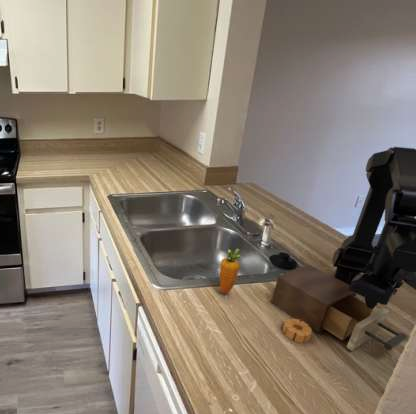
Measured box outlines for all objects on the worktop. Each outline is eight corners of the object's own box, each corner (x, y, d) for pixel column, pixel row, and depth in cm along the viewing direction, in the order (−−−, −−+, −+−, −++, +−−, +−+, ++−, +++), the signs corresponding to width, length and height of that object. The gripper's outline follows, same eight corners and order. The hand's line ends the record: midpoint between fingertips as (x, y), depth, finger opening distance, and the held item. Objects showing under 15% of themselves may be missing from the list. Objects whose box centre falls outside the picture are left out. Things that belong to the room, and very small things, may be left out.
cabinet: (347, 316, 86) (358, 289, 83) (317, 333, 81) (327, 305, 77) (300, 289, 97) (308, 263, 93) (271, 302, 91) (278, 276, 88)
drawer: (405, 348, 75) (417, 325, 73) (378, 368, 71) (389, 344, 68) (329, 304, 89) (337, 283, 86) (302, 318, 84) (309, 296, 82)
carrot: (229, 288, 97) (238, 244, 91) (236, 299, 93) (246, 253, 87) (212, 288, 97) (220, 244, 91) (219, 300, 93) (227, 254, 86)
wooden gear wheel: (292, 322, 84) (294, 315, 84) (314, 337, 80) (317, 330, 79) (277, 329, 82) (279, 323, 81) (299, 345, 78) (302, 338, 77)
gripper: (440, 282, 55) (404, 351, 61) (462, 247, 65) (430, 310, 71) (360, 254, 63) (336, 317, 69) (391, 227, 73) (368, 284, 80)
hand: (370, 307), depth 72 cm, fingers closed
